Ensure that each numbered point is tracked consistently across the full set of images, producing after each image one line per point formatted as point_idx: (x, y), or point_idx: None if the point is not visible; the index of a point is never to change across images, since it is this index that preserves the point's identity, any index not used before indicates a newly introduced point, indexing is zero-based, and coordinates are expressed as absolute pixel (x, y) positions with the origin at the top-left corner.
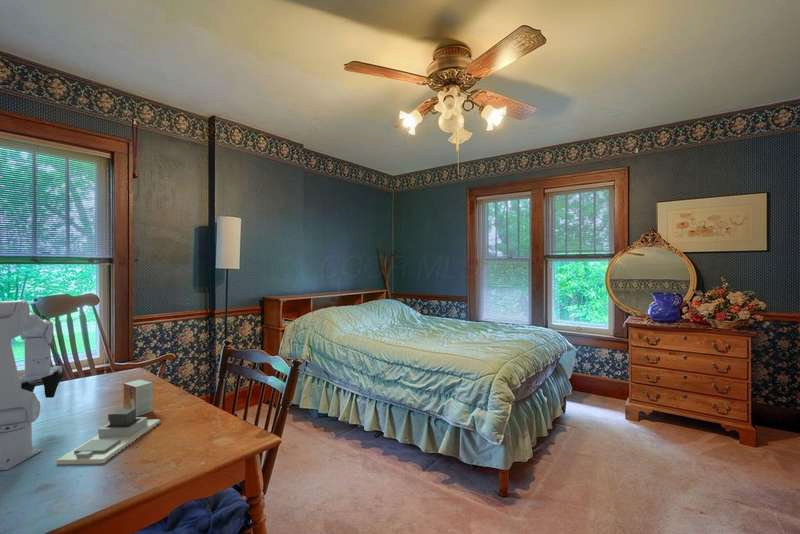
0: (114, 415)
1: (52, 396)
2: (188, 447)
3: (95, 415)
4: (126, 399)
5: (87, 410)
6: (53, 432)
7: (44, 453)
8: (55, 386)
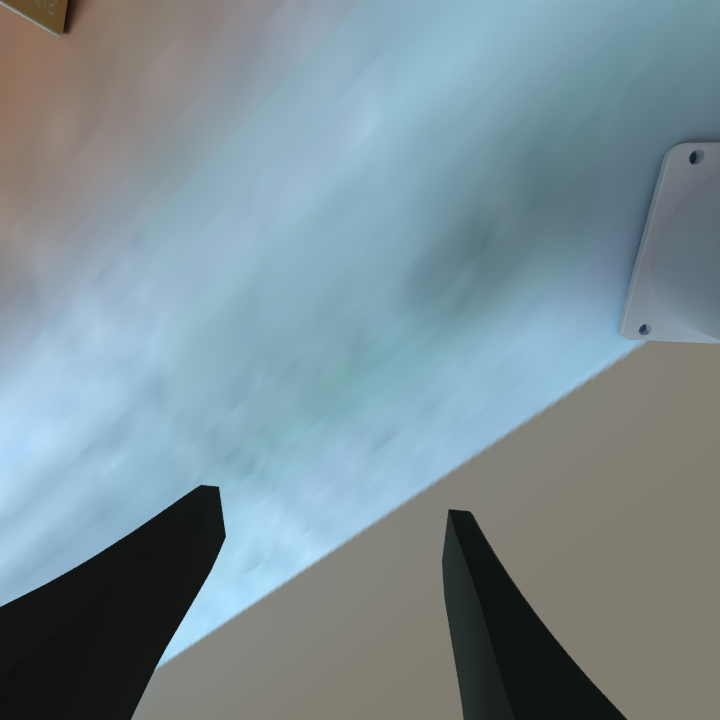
0: None
1: (211, 493)
2: None
3: (140, 237)
4: None
5: (90, 347)
6: (376, 308)
7: (708, 98)
8: (116, 567)
